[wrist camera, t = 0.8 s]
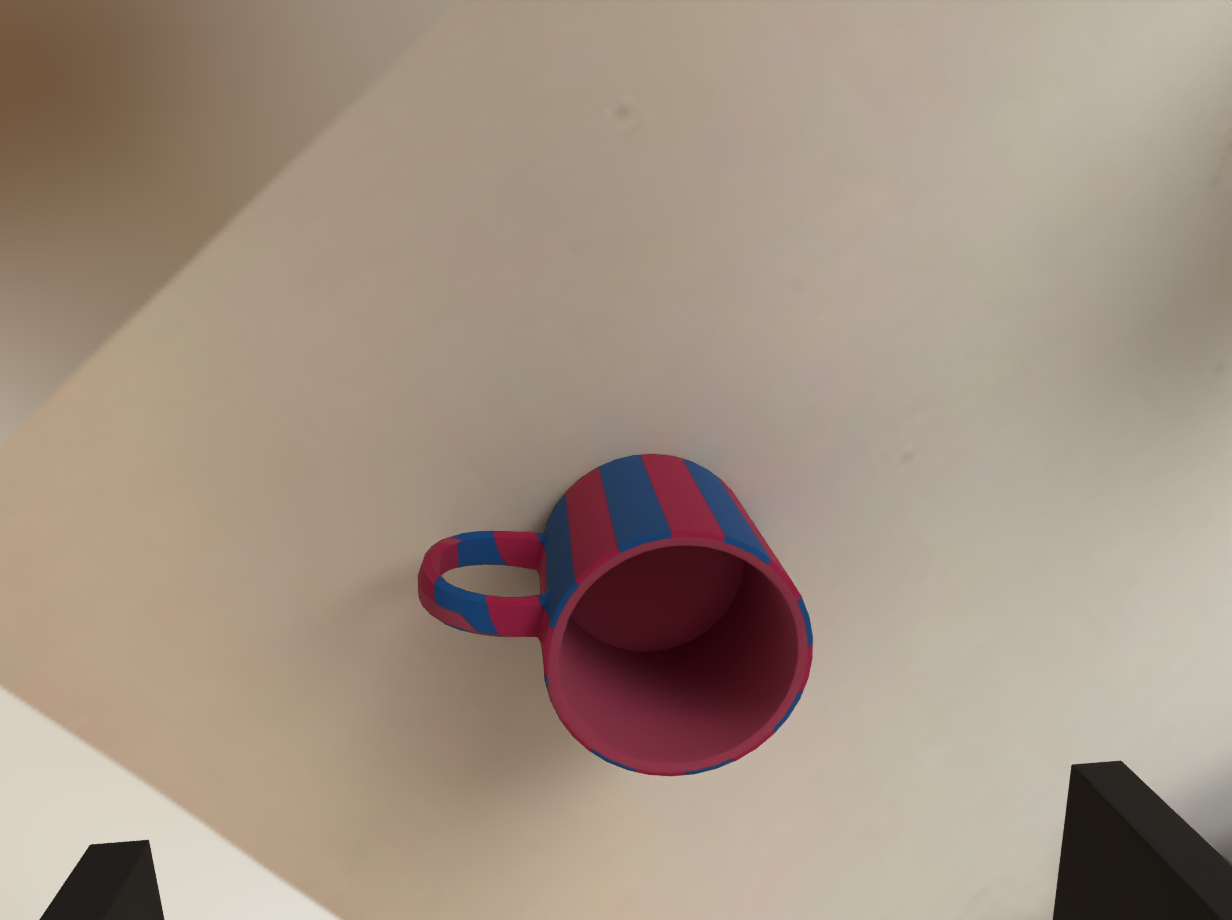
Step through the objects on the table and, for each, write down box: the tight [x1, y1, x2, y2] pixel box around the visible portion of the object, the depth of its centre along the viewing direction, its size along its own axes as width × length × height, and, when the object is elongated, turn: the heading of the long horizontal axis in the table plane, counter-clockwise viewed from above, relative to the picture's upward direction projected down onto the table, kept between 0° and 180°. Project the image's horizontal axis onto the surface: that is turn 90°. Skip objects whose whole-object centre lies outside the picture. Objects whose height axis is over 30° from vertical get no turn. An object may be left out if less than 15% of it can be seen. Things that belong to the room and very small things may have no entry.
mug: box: [418, 454, 813, 776], centre depth 26 cm, size 7×10×7 cm
